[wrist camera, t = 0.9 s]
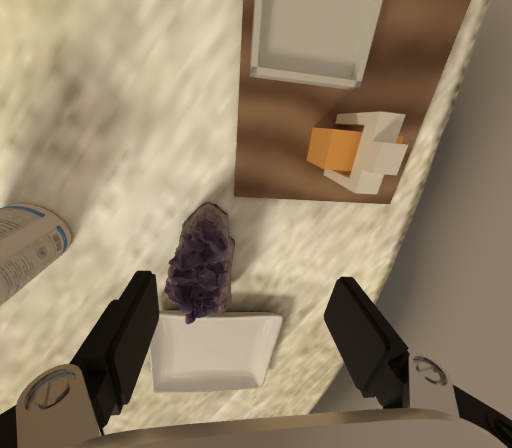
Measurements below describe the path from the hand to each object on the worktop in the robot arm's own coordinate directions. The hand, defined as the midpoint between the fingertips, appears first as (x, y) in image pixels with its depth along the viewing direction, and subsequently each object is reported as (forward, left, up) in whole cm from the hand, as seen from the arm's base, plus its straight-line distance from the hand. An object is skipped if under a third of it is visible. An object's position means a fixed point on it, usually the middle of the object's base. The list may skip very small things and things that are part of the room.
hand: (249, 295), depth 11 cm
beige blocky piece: (-6, +15, -23) cm, 28 cm away
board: (-11, +13, -24) cm, 30 cm away
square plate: (+40, -3, -25) cm, 47 cm away
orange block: (-6, +15, -23) cm, 28 cm away
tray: (-18, +8, -23) cm, 31 cm away
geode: (+14, -5, -25) cm, 29 cm away
